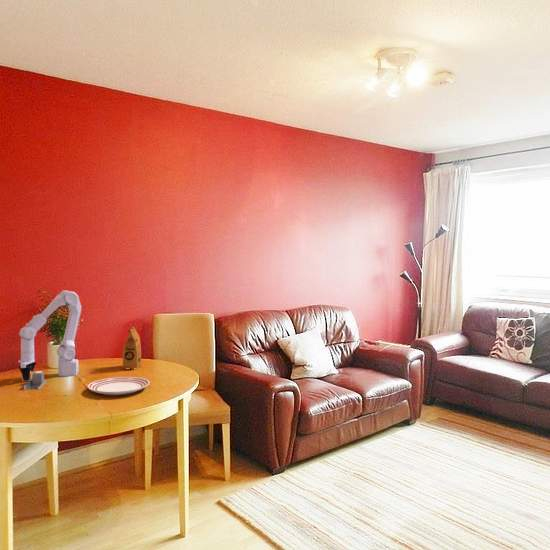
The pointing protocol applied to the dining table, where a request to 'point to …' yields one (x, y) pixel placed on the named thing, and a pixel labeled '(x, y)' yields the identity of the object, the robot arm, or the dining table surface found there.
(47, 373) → the dining table surface
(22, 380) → the block
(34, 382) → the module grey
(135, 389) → the dinner plate
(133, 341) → the coffee package
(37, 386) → the rail
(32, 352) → the robot arm
